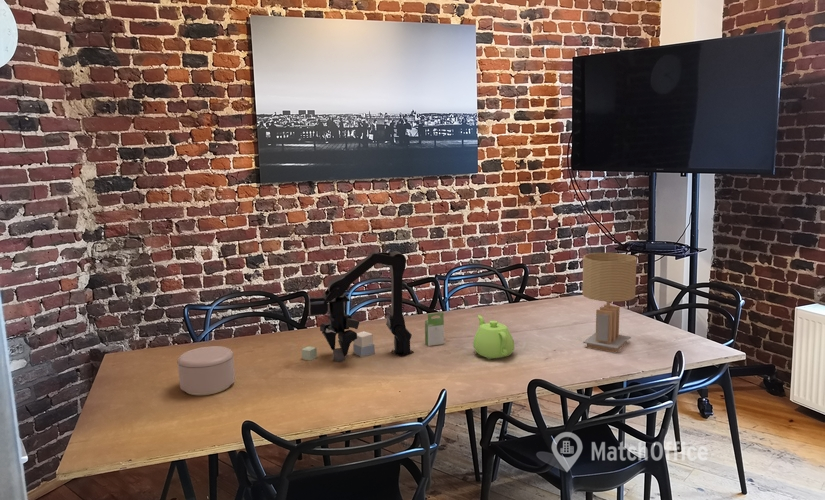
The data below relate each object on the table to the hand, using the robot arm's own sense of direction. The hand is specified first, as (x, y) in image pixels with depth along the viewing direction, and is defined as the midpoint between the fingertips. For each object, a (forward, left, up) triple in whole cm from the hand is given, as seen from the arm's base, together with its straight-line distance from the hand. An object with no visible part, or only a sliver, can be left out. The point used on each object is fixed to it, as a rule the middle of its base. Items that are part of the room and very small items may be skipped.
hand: (339, 353), depth 225 cm
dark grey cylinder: (0, 0, -3) cm, 3 cm away
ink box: (-9, -39, -3) cm, 40 cm away
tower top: (0, -11, +1) cm, 11 cm away
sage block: (+9, +8, -3) cm, 12 cm away
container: (+6, +47, -3) cm, 48 cm away
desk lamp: (-54, -90, -3) cm, 105 cm away
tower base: (0, -11, -3) cm, 11 cm away
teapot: (-32, -49, -3) cm, 59 cm away
